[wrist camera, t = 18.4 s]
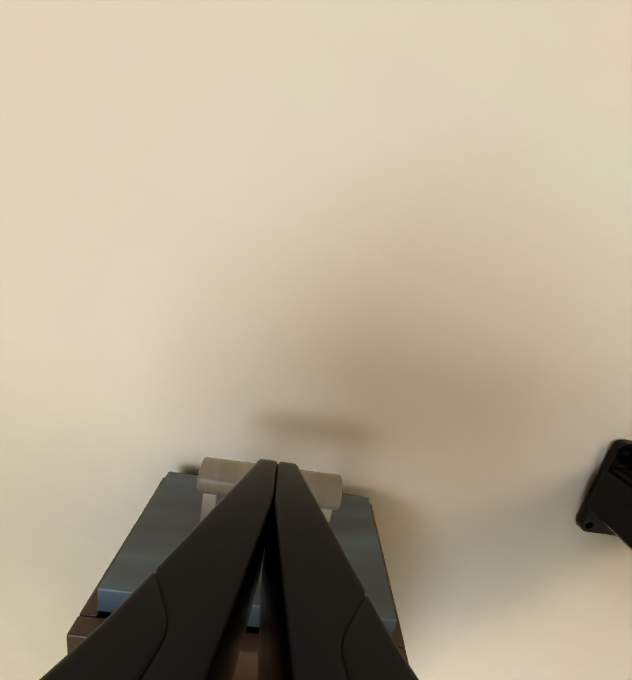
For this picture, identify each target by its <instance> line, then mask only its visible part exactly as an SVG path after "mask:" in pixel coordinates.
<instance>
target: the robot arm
mask: <svg viewBox="0 0 632 680" xmlns="http://www.w3.org/2000/svg"><path fill="white" fill-rule="evenodd" d="M277 466H278V467H277ZM576 523H577V525H578V526H579V527H580V528H581V529H582V530H583V531H586V532H593V533H601V534H608V535H616V536H618V537H619V538H620V539H621V540H622V541H623V542H624V543H625V544H626V545H627V546H628V547H629V548H630V549H631V550H632V441H628V440H619V441H617V442H616V443H615V444H614V445H613V446H612V449H611V451H610V453H609V455H608V457H607V459H606V461H605V463H604V465H603V467H602V469H601V471H600V473H599V475H598V477H597V479H596V481H595V483H594V485H593V487H592V489H591V492H590V494H589V496H588V498H587V500H586V502H585V504H584V506H583V508H582V510H581V512H580V514H579V516H578V518H577V521H576ZM264 550H265V551H264ZM263 556H264V558H263ZM262 562H263V565H262ZM261 568H262V575H261V593H260V621H259V648H258V676H257V680H418V678H417V676H416V675H415V673H414V672H413V670H412V669H411V667H410V666H409V664H408V662H407V661H406V659H405V658H404V656H403V655H402V653H401V652H400V650H399V648H398V646H397V645H396V643H395V641H394V640H393V638H392V636H391V634H390V633H389V631H388V629H387V627H386V626H385V624H384V622H383V621H382V619H381V617H380V615H379V614H378V612H377V610H376V608H375V606H374V604H373V602H372V601H371V599H370V597H369V596H366V590H365V588H364V586H363V585H362V583H361V581H360V579H359V577H358V575H357V574H356V572H355V570H354V568H353V566H352V564H351V563H350V561H349V559H348V557H347V555H346V553H345V552H344V550H343V548H342V546H341V544H340V543H339V541H338V539H337V537H336V535H335V533H334V532H333V530H332V528H331V526H330V524H329V522H328V521H327V519H326V517H325V515H324V513H323V512H322V510H321V508H320V506H319V504H318V502H317V501H316V499H315V497H314V495H313V493H312V491H311V490H310V488H309V486H308V484H307V482H306V481H305V479H304V477H303V475H302V473H301V471H300V470H299V468H298V466H297V465H296V464H294V463H287V462H279V463H277V462H276V461H272V460H265V459H260V460H259V461H258V462H257V463H256V464H255V465H254V466H253V467H252V468H251V469H250V470H249V471H248V472H247V473H246V474H245V475H244V476H243V477H242V478H241V480H240V481H239V482H238V483H237V484H236V485H235V486H234V487H233V488H232V489H231V490H230V491H229V492H228V493H227V494H226V495H225V496H224V497H223V498H222V499H221V501H220V502H219V503H218V504H217V505H216V506H215V507H214V508H213V509H212V510H211V511H210V512H209V513H208V514H207V515H206V516H205V517H204V518H203V519H202V520H201V522H200V523H199V524H198V525H197V526H196V527H195V528H194V529H193V530H192V531H191V532H190V533H189V534H188V535H187V536H186V537H185V538H184V539H183V540H182V541H181V543H180V544H179V545H178V546H177V547H176V548H175V549H174V550H173V551H172V552H171V553H170V554H169V555H168V556H167V557H166V558H165V559H164V560H163V561H162V562H161V564H160V565H159V566H158V567H157V568H156V569H155V573H151V574H150V575H149V576H148V577H147V578H146V579H145V580H144V581H143V582H142V583H141V584H140V585H139V586H138V587H137V588H136V590H135V591H134V592H133V593H132V594H131V595H130V596H129V597H128V598H127V599H126V600H125V601H124V602H123V603H122V604H121V605H120V606H119V607H118V608H117V609H116V610H115V611H114V612H113V613H112V614H111V615H110V616H109V617H108V618H107V619H106V620H105V621H104V622H103V623H102V624H101V625H99V626H98V627H97V628H96V629H95V630H94V631H93V632H92V633H91V634H90V635H88V636H87V637H86V638H85V639H84V640H83V641H82V642H81V643H80V644H79V645H78V646H76V647H75V648H74V649H73V650H72V651H71V652H70V653H69V654H68V655H67V656H65V657H64V658H63V659H62V660H61V661H60V662H59V663H58V664H57V665H55V666H54V667H53V668H52V669H51V670H50V671H49V672H47V673H46V674H45V675H44V676H43V677H42V678H41V679H40V680H233V677H234V674H235V670H236V666H237V662H238V658H239V655H240V651H241V647H242V643H243V639H244V636H245V632H246V628H247V624H248V620H249V617H250V613H251V609H252V605H253V601H254V597H255V594H256V590H257V586H258V582H259V578H260V573H261Z"/></svg>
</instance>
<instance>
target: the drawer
mask: <svg viewBox="0 0 632 680" xmlns="http://www.w3.org/2000/svg"><path fill="white" fill-rule="evenodd" d="M254 465H255V464H253V463H246V462H238V461H231V460H223V459H216V458H209V457H207V458H205V459H204V460H203V462H202V464H201V467H200V470H199V474H198V475H191V474H183V473H176V472H169V473H168V474H167V476H166V477H165V479H164V481H163V482H162V484H161V486H160V487H159V489H158V491H157V492H156V494H155V496H154V497H153V499H152V500H151V502H150V504H149V505H148V507H147V509H146V510H145V512H144V514H143V515H142V517H141V518H140V520H139V522H138V523H137V525H136V527H135V528H134V530H133V532H132V533H131V535H130V536H129V538H128V540H127V541H126V543H125V545H124V546H123V548H122V550H121V551H120V553H119V555H118V556H117V558H116V559H115V561H114V563H113V564H112V566H111V568H110V569H109V571H108V573H107V574H106V576H105V577H104V579H103V581H102V582H101V584H100V586H99V587H98V611H104V612H114V611H115V610H116V609H117V608H118V607H119V606H120V605H121V604H122V603H123V602H124V601H125V600H126V599H127V598H128V597H129V596H130V595H131V594H132V593H133V592H134V591H135V590H136V588H137V587H138V586H139V585H140V584H141V583H142V582H143V581H144V580H145V579H146V578H147V577H148V576H149V575H150V574H151V573H155V569H156V568H157V567H158V566H159V565H160V564H161V562H162V561H163V560H164V559H165V558H166V557H167V556H168V555H169V554H170V553H171V552H172V551H173V550H174V549H175V548H176V547H177V546H178V545H179V544H180V543H181V541H182V540H183V539H184V538H185V537H186V536H187V535H188V534H189V533H190V532H191V531H192V530H193V529H194V528H195V527H196V526H197V525H198V524H199V523H200V522H201V520H202V519H203V518H204V517H205V516H206V515H207V514H208V513H209V512H210V511H211V510H212V509H213V508H214V507H215V506H216V505H217V504H218V503H219V502H220V501H221V499H222V498H223V497H224V496H225V495H226V494H227V493H228V492H229V491H230V490H231V489H232V488H233V487H234V486H235V485H236V484H237V483H238V482H239V481H240V480H241V478H242V477H243V476H244V475H245V474H246V473H247V472H248V471H249V470H250V469H251V468H252V467H253V466H254ZM300 471H301V473H302V475H303V477H304V479H305V481H306V482H307V484H308V486H309V488H310V490H311V491H312V493H313V495H314V497H315V499H316V501H317V502H318V504H319V506H320V508H321V510H322V512H323V513H324V515H325V517H326V519H327V521H328V522H329V524H330V526H331V528H332V530H333V532H334V533H335V535H336V537H337V539H338V541H339V543H340V544H341V546H342V548H343V550H344V552H345V553H346V555H347V557H348V559H349V561H350V563H351V564H352V566H353V568H354V570H355V572H356V574H357V575H358V577H359V579H360V581H361V583H362V585H363V586H364V588H365V590H366V596H369V597H370V599H371V601H372V602H373V604H374V606H375V608H376V610H377V612H378V614H379V615H380V617H381V619H382V621H383V622H384V624H385V626H386V627H387V629H388V631H389V633H390V634H391V636H392V633H393V630H394V627H395V624H396V621H397V619H396V615H395V611H394V606H393V602H392V598H391V594H390V589H389V585H388V581H387V576H386V572H385V568H384V563H383V559H382V555H381V550H380V546H379V542H378V537H377V533H376V529H375V525H374V520H373V516H372V512H371V507H370V503H369V499H368V498H366V497H359V496H351V495H344V494H342V489H343V484H342V478H341V476H340V475H335V474H327V473H320V472H312V471H305V470H300ZM264 551H265V550H264ZM263 558H264V556H263ZM262 565H263V562H262ZM261 575H262V568H261V573H260V578H259V582H258V586H257V590H256V594H255V597H254V601H253V605H252V609H251V613H250V617H249V620H248V624H247V628H246V632H247V633H257V634H259V621H260V593H261Z"/></svg>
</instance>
